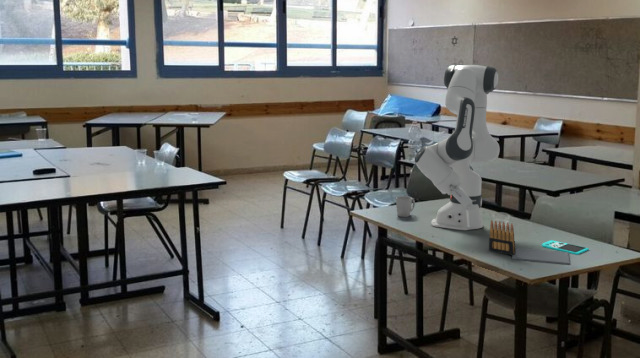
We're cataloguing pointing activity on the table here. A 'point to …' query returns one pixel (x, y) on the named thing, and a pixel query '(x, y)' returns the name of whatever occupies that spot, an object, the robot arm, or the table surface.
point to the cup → (404, 206)
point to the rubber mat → (541, 256)
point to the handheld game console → (564, 247)
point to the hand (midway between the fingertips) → (473, 208)
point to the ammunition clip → (502, 238)
